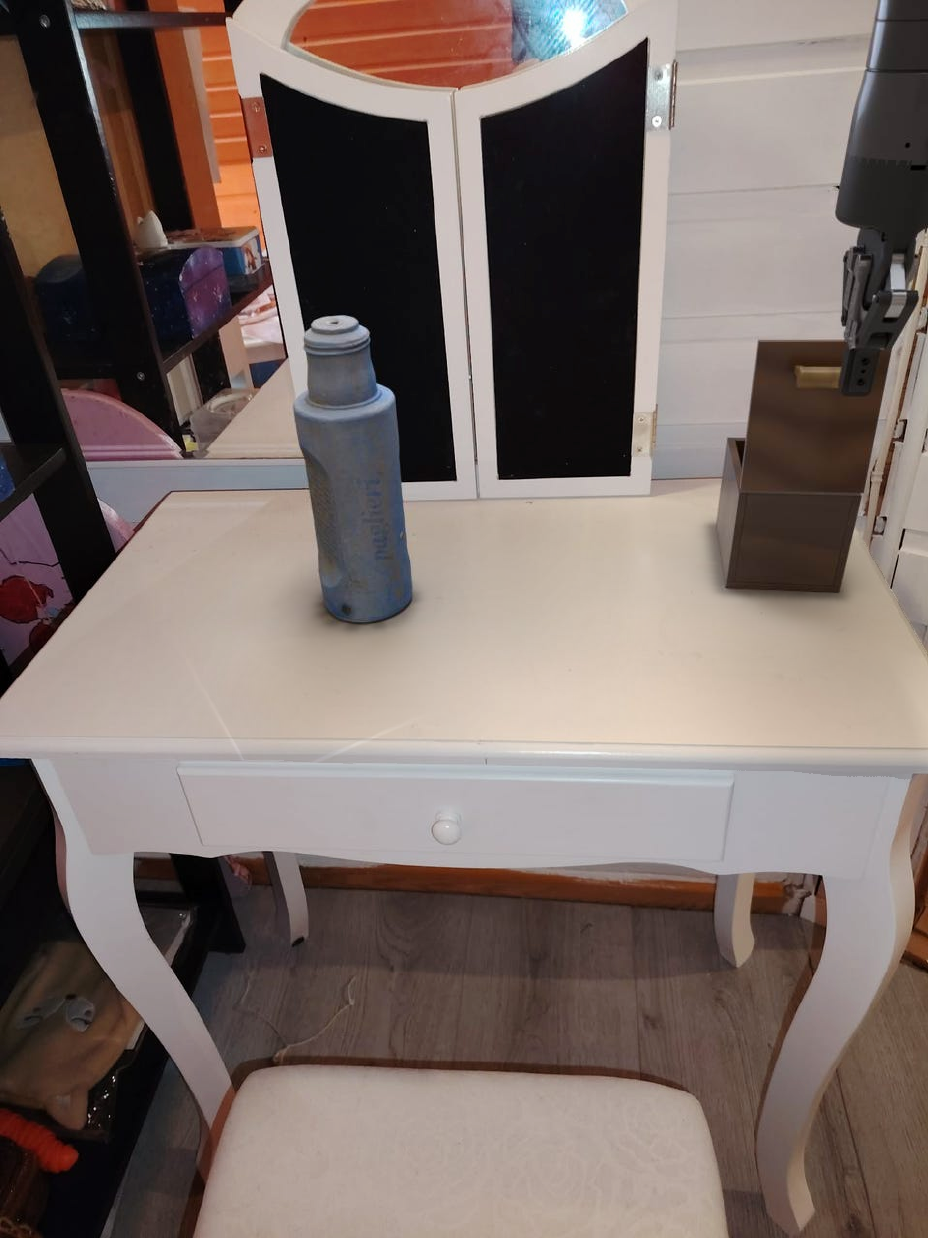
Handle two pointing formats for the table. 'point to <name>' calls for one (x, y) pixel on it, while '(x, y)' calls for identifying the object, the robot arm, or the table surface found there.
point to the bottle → (353, 474)
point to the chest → (782, 533)
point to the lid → (808, 420)
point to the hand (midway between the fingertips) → (853, 392)
